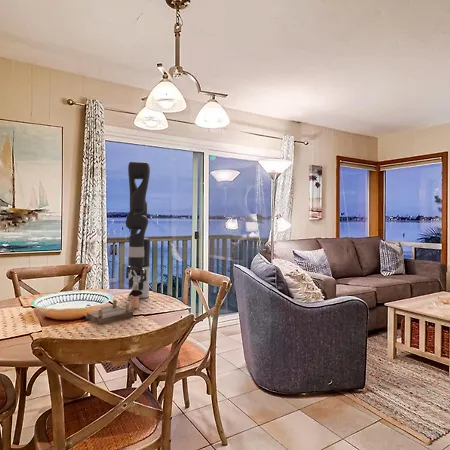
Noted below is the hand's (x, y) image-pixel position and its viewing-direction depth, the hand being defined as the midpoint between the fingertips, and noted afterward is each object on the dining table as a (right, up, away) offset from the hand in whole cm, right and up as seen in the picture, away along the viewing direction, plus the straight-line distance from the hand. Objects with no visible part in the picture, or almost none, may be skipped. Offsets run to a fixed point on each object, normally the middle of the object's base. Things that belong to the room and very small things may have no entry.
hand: (135, 288), depth 175 cm
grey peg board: (-9, -10, -15) cm, 20 cm away
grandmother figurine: (0, -10, +1) cm, 10 cm away
